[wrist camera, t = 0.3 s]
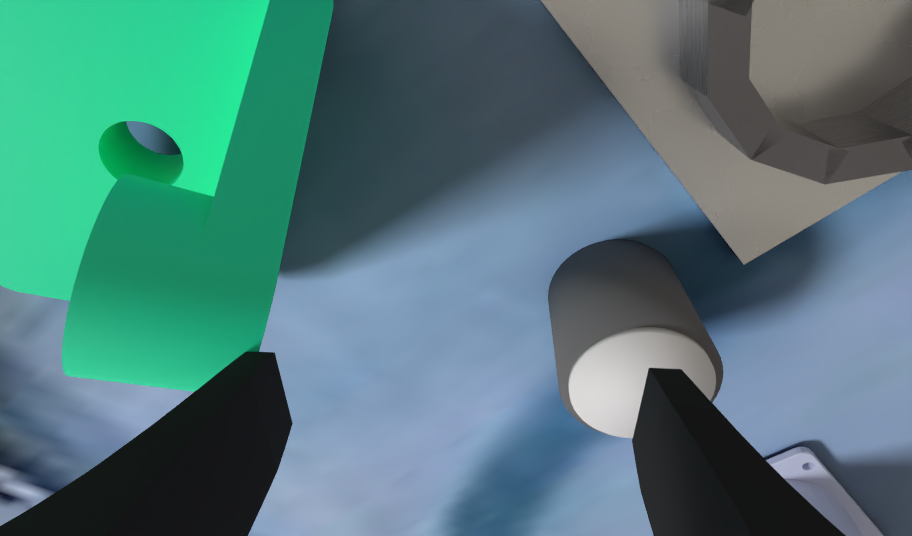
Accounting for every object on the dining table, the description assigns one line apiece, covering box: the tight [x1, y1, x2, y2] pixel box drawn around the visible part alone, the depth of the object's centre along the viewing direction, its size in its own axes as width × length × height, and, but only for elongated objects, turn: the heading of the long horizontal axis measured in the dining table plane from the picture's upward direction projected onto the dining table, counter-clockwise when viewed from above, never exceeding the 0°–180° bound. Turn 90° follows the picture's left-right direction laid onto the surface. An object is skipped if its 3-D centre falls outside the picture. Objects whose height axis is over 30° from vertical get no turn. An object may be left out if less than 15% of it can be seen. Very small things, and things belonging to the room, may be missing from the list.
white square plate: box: [541, 0, 912, 265], centre depth 14 cm, size 12×12×3 cm
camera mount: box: [0, 0, 334, 392], centre depth 13 cm, size 12×8×10 cm, turn 155°
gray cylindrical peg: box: [548, 240, 723, 438], centre depth 18 cm, size 5×5×5 cm
